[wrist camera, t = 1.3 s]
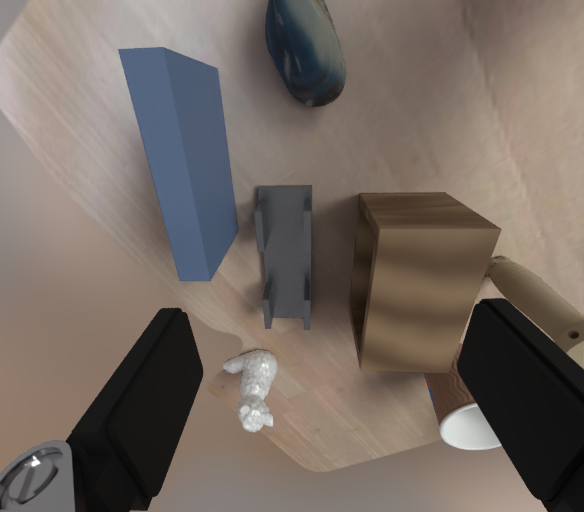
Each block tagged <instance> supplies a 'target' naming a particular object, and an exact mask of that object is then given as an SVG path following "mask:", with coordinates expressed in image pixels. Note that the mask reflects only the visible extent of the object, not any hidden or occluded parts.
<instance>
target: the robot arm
mask: <svg viewBox="0 0 584 512" xmlns="http://www.w3.org/2000/svg"><path fill="white" fill-rule="evenodd" d="M457 370H458V373H459V375H460V377H461V379H462V380H463V382H464V384H465V385H466V387H467V389H468V390H469V392H470V394H471V395H472V397H473V399H474V400H475V402H476V404H477V405H478V407H479V408H480V410H481V412H482V413H483V415H484V417H485V418H486V420H487V422H488V423H489V425H490V427H491V428H492V430H493V432H494V433H495V435H496V437H497V438H498V440H499V442H500V443H501V445H502V446H503V448H504V450H505V451H506V453H507V455H508V456H509V458H510V459H511V461H512V463H513V464H514V466H515V468H516V469H517V471H518V473H519V475H520V476H521V478H522V479H523V481H524V483H525V484H526V486H527V488H528V489H529V491H530V492H531V493H532V495H533V496H534V497H535V498H537V499H539V500H541V501H542V503H543V505H544V507H545V508H546V509H547V511H548V512H584V369H583V368H582V367H581V366H580V365H579V364H578V363H576V362H575V361H574V360H573V359H572V358H571V357H570V356H569V355H568V354H566V353H565V352H564V351H563V350H562V349H561V348H560V347H559V346H558V345H556V344H555V343H554V342H553V341H552V340H551V339H550V338H549V337H548V336H546V335H545V334H544V333H543V332H542V331H541V330H540V329H539V328H538V327H537V326H535V325H534V324H533V323H532V322H531V321H530V320H529V319H528V318H527V317H525V316H524V315H523V314H522V313H521V312H520V311H519V310H518V309H517V308H515V307H514V306H513V305H512V304H511V303H510V302H509V301H508V300H506V299H503V298H494V299H482V300H481V301H480V302H479V304H476V305H475V307H474V309H473V312H472V316H471V319H470V322H469V326H468V329H467V332H466V336H465V339H464V342H463V345H462V349H461V352H460V355H459V359H458V362H457ZM202 377H203V367H202V363H201V360H200V356H199V353H198V349H197V346H196V343H195V339H194V336H193V332H192V329H191V326H190V322H189V319H188V316H187V313H185V312H182V310H181V309H180V308H162V309H160V310H159V311H158V313H157V314H156V316H155V317H154V318H153V320H152V321H151V322H150V324H149V325H148V327H147V328H146V329H145V331H144V332H143V333H142V335H141V336H140V338H139V339H138V340H137V342H136V343H135V345H134V346H133V348H132V349H131V350H130V351H129V353H128V354H127V356H126V357H125V358H124V360H123V361H122V363H121V364H120V365H119V367H118V368H117V369H116V371H115V372H114V374H113V375H112V376H111V378H110V379H109V380H108V382H107V383H106V385H105V386H104V387H103V389H102V390H101V392H100V393H99V394H98V396H97V397H96V398H95V400H94V401H93V403H92V404H91V405H90V407H89V408H88V410H87V411H86V412H85V414H84V415H83V416H82V418H81V419H80V421H79V422H78V423H77V425H76V426H75V428H74V429H73V430H72V433H71V434H70V436H69V437H68V438H67V440H66V441H61V440H52V441H48V442H44V443H41V444H39V445H37V446H34V447H32V448H31V449H29V450H28V451H26V452H24V453H23V454H21V455H20V456H18V457H17V458H16V459H15V460H14V461H13V462H11V463H10V464H9V465H8V466H7V467H6V468H5V469H4V470H3V471H2V472H1V473H0V512H129V511H130V510H141V511H147V510H148V507H149V505H150V502H151V500H152V497H155V496H157V495H158V494H159V492H160V490H161V488H162V485H163V482H164V480H165V477H166V474H167V472H168V469H169V466H170V464H171V461H172V458H173V456H174V453H175V450H176V448H177V445H178V442H179V439H180V437H181V434H182V432H183V429H184V426H185V423H186V421H187V418H188V415H189V413H190V410H191V407H192V405H193V402H194V399H195V396H196V394H197V391H198V389H199V386H200V383H201V381H202Z"/></svg>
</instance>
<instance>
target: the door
mask: <svg viewBox="0 0 584 512" xmlns="http://www.w3.org/2000/svg"><path fill="white" fill-rule="evenodd" d="M118 50H119V54H120V58H121V61H122V65H123V69H124V73H125V77H126V80H127V84H128V88H129V92H130V95H131V99H132V103H133V107H134V110H135V114H136V118H137V122H138V125H139V129H140V133H141V137H142V140H143V144H144V148H145V152H146V155H147V159H148V163H149V167H150V171H151V174H152V178H153V182H154V186H155V189H156V193H157V197H158V201H159V204H160V208H161V212H162V216H163V219H164V223H165V227H166V231H167V234H168V238H169V242H170V246H171V249H172V253H173V257H174V261H175V265H176V268H177V272H178V276H179V280H180V281H211V279H212V278H213V276H214V274H215V272H216V270H217V269H218V267H219V265H220V263H221V261H222V260H223V258H224V256H225V254H226V253H227V251H228V249H229V247H230V245H231V244H232V242H233V240H234V238H235V236H236V235H237V233H238V223H237V215H236V207H235V200H234V192H233V184H232V176H231V169H230V161H229V153H228V145H227V137H226V130H225V122H224V114H223V106H222V99H221V91H220V83H219V75H218V68H215V67H212V66H210V65H207V64H205V63H202V62H200V61H197V60H195V59H192V58H189V57H187V56H184V55H182V54H179V53H177V52H174V51H171V50H169V49H166V48H164V47H158V48H134V49H118Z"/></svg>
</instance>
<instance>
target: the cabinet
mask: <svg viewBox="0 0 584 512" xmlns="http://www.w3.org/2000/svg"><path fill="white" fill-rule="evenodd" d="M500 232H501V229H500V228H499V227H497V226H496V225H494V224H493V223H491V222H490V221H488V220H487V219H485V218H484V217H482V216H480V215H479V214H477V213H476V212H474V211H473V210H471V209H470V208H468V207H467V206H465V205H464V204H462V203H461V202H459V201H457V200H456V199H454V198H453V197H451V196H450V195H448V194H447V193H445V192H437V193H360V196H359V207H358V217H357V228H356V238H355V249H354V259H353V270H352V280H351V291H350V301H349V314H350V319H351V324H352V329H353V335H354V340H355V345H356V350H357V356H358V361H359V366H360V370H362V371H395V372H428V373H448V372H449V369H450V367H451V364H452V361H453V359H454V356H455V353H456V350H457V348H458V345H459V342H460V340H461V337H462V334H463V332H464V329H465V326H466V324H467V321H468V318H469V315H470V313H471V310H472V307H473V305H474V302H475V299H476V297H477V294H478V291H479V288H480V286H481V283H482V280H483V278H484V275H485V272H486V270H487V267H488V264H489V261H490V259H491V256H492V253H493V251H494V248H495V245H496V243H497V240H498V237H499V235H500Z"/></svg>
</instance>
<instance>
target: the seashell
mask: <svg viewBox="0 0 584 512" xmlns="http://www.w3.org/2000/svg"><path fill="white" fill-rule="evenodd" d="M265 31H266V41H267V45H268V50H269V53H270V55H271V57H272V59H273V61H274V63H275V66H276V68H277V70H278V72H279V73H280V75H281V77H282V78H283V80H284V82H285V84H286V86H287V88H288V90H289V91H290V93H291V94H292V95H293V97H294V98H296V99H297V100H298V101H300V102H302V103H304V104H305V105H307V106H311V107H319V106H324V105H327V104H329V103H331V102H333V101H334V100H335V99H336V98H337V97H338V96H339V95H340V93H341V92H342V90H343V87H344V84H345V78H346V71H345V65H344V60H343V56H342V52H341V48H340V44H339V40H338V38H337V34H336V31H335V28H334V25H333V23H332V20H331V17H330V14H329V12H328V9H327V6H326V4H325V2H324V0H269V2H268V8H267V14H266V28H265Z"/></svg>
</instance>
